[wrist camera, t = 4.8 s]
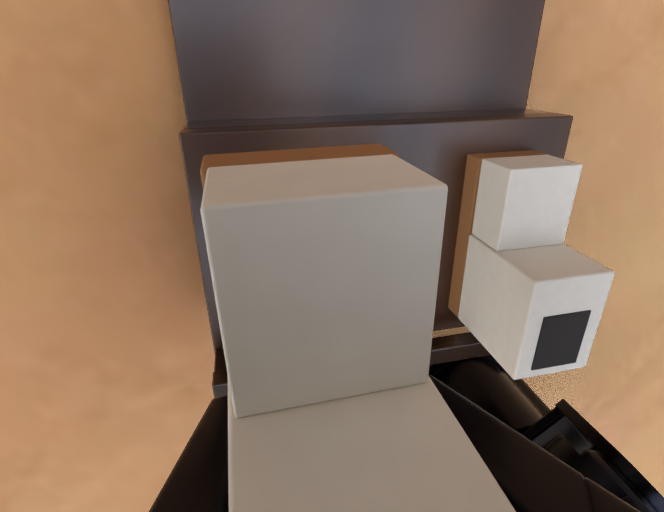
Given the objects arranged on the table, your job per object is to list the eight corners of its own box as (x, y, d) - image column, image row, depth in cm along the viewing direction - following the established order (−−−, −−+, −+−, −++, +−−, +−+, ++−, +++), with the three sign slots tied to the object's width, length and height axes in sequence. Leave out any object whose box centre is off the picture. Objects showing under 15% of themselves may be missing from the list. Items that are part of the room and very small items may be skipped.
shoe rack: (552, -153, 16) (728, -270, 10) (482, 278, 24) (560, 343, 18) (141, -195, 13) (76, -390, 7) (218, 311, 21) (214, 401, 16)
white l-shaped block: (505, 299, 20) (587, 369, 15) (447, 307, 19) (514, 382, 15) (534, 149, 17) (647, 181, 12) (466, 153, 16) (558, 188, 12)
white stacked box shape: (372, 431, 10) (485, 719, 6) (249, 457, 10) (269, 799, 5) (380, 143, 7) (634, 278, 3) (202, 153, 7) (153, 353, 2)
